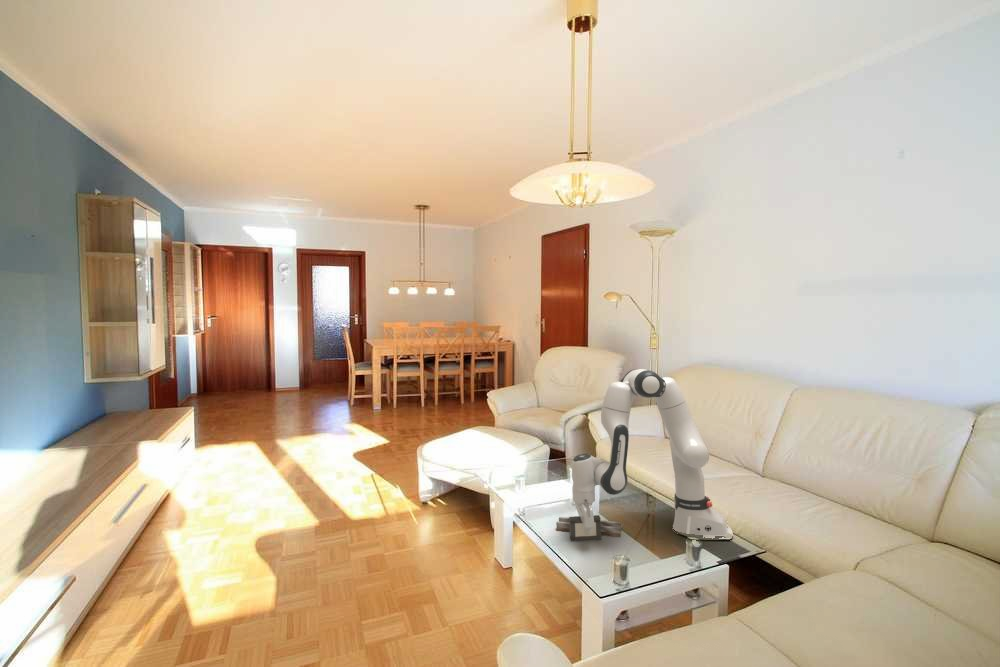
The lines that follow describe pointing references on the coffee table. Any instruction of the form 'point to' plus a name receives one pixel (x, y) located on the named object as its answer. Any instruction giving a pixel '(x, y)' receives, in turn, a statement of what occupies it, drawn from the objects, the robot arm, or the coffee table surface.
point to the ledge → (606, 527)
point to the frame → (578, 529)
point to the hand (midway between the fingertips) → (585, 530)
